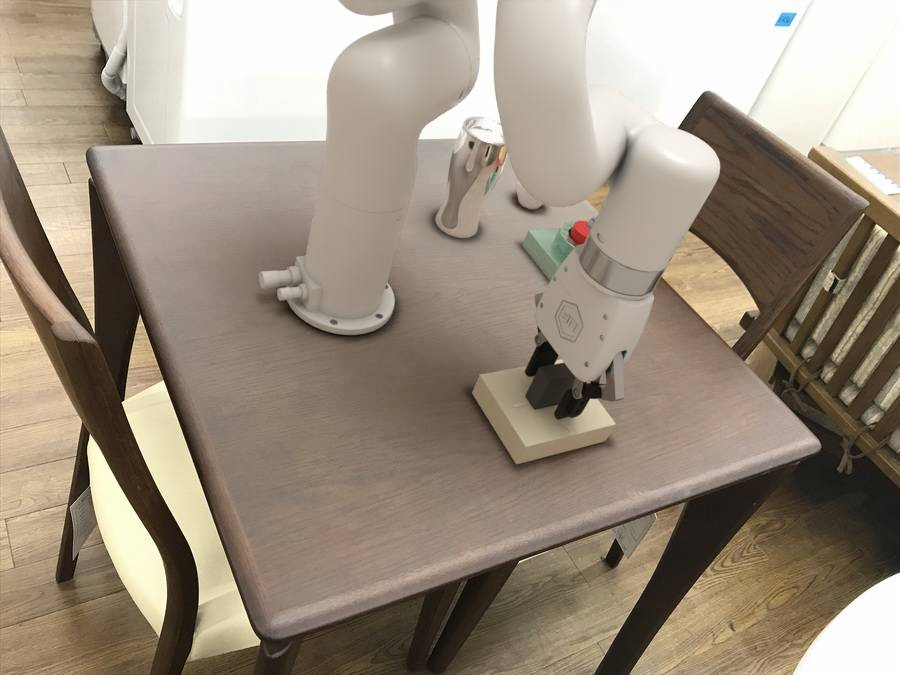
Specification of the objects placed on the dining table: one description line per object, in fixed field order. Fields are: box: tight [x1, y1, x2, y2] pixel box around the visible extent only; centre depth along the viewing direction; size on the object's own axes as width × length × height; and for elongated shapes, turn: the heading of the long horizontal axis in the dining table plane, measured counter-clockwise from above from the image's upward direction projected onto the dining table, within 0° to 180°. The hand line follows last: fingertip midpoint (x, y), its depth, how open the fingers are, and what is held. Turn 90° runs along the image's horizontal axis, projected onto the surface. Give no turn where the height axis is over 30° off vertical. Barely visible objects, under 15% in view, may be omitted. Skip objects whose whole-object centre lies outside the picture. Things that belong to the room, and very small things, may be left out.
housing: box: [521, 221, 579, 282], centre depth 107 cm, size 12×9×4 cm
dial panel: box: [471, 359, 617, 465], centre depth 83 cm, size 12×10×3 cm
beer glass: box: [434, 116, 508, 239], centre depth 102 cm, size 7×7×15 cm
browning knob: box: [525, 363, 575, 410], centre depth 80 cm, size 5×2×5 cm, turn 117°
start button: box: [570, 220, 590, 245], centre depth 105 cm, size 4×4×2 cm
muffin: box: [515, 178, 544, 210], centre depth 114 cm, size 6×6×7 cm
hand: (551, 392), depth 81 cm, fingers open, 5 cm apart
